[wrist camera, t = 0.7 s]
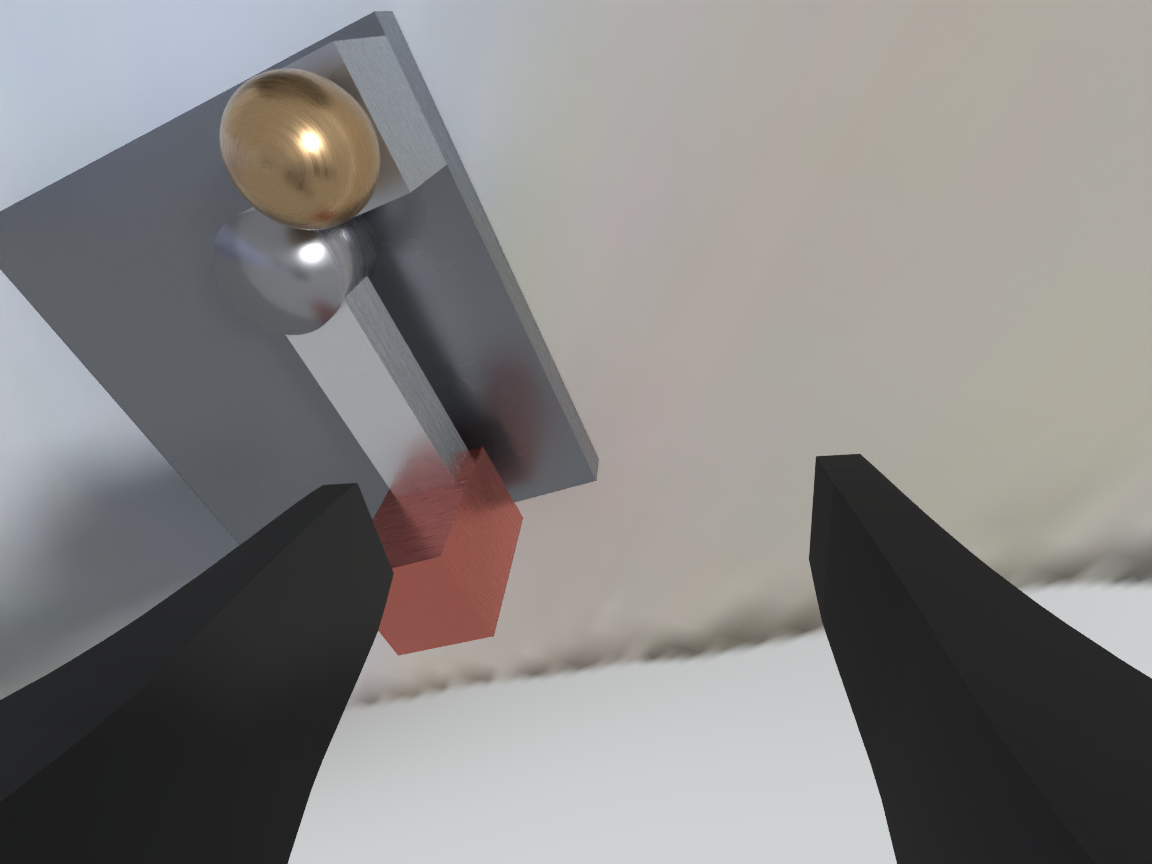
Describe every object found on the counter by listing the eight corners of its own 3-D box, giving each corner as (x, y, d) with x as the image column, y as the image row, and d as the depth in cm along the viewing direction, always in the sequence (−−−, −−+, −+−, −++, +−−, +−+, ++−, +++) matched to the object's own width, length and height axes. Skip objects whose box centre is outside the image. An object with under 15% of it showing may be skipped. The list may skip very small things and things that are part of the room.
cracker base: (276, 547, 26) (169, 701, 20) (1, 218, 20) (-273, 307, 14) (609, 456, 22) (595, 615, 16) (406, 4, 16) (261, 1, 10)
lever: (244, 209, 17) (99, 281, 13) (337, 166, 16) (218, 226, 12) (448, 526, 23) (398, 655, 18) (525, 506, 22) (493, 636, 17)
